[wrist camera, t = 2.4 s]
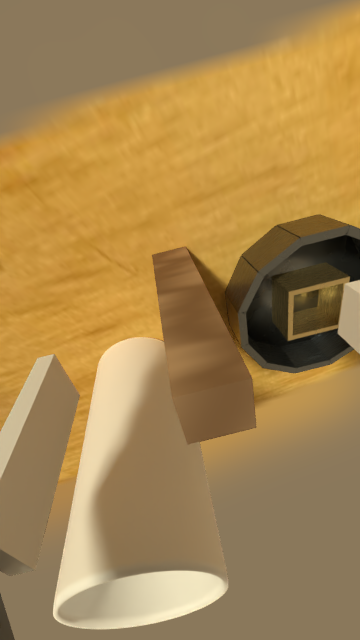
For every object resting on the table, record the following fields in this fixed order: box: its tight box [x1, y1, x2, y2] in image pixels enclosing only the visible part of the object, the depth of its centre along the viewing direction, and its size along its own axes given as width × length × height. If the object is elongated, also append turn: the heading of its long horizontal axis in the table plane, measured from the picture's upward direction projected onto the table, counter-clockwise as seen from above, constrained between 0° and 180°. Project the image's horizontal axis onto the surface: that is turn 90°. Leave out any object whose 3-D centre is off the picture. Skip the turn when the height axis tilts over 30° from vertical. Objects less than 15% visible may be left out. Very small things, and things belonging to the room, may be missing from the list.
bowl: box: [225, 215, 360, 373], centre depth 22 cm, size 12×12×4 cm
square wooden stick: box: [152, 247, 256, 445], centre depth 15 cm, size 3×3×14 cm
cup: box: [53, 337, 229, 629], centre depth 19 cm, size 8×8×16 cm
